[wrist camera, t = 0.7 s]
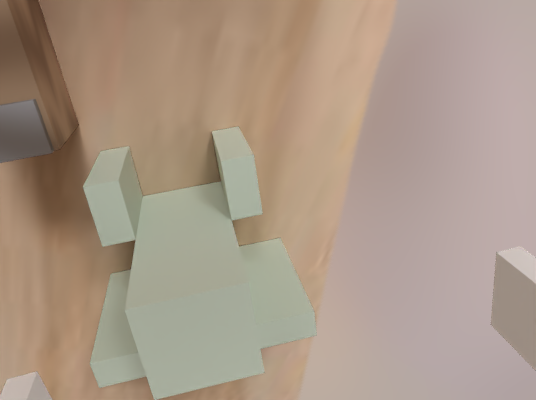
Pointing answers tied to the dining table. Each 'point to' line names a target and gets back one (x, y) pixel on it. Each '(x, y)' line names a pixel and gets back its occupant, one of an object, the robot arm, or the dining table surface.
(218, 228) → the pale green block
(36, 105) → the brown boxy piece
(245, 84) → the dining table surface
